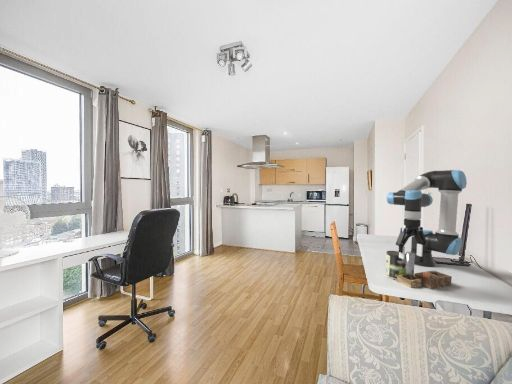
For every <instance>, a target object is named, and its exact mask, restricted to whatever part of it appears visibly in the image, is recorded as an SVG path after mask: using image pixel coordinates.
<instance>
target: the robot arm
mask: <svg viewBox="0 0 512 384" xmlns="http://www.w3.org/2000/svg"><path fill="white" fill-rule="evenodd" d="M431 188H432V189H437V191H438V192H439V193H440V204H439V215H438V216H439V218H438V228H437V230H436V231H435V232H433V230H428V229H424V228H423V227H422V226H421V222H422V220H421V218H422V208H426V207H430V206H431V205H432V203H433V200H434V199H433V197H432V196H431V195H430V194H428V193H422V191H423V190H427V189H431ZM466 188H467V176H466V174H465V172H464V171H462V170H460V169H459V170H458V169H450V170H445V169H444V170H430V171H428V172H425V173H422V174H421V175H420V174H419V175H418V176H416V177H415V178H414V180H413V181H411V182H410V183H408V184H407V185H406V186H404V187H402V188H401V189H399V190H397V191H396V192H395V191H394V192H392V191H391V192H388V193H387V195H386V203H387V204H390V205H394V206H396V205H397V206H404V208H403V209H404V214H403V217H404V218H403V225H404V226H405V227H401V228H400V231H399V234H398V237H397V239H396V242H395V245H396V246H397V247H398V252H399V258H402V259H405V254H406V247H405V245H406V243H407V242H408V240H409V238H411V246H410V248H411V249H410V252H412V253H415V260H414V265H417V266H421V267H434V266H435V261H434V257H433V254H432V251H433V252H437V253H441V254H445V255H451V256H457V255H458V254H459V253H460V251H461V249H462V246H463V239H462V238H461V237H460V236H459V233H458V232H457V231H456V229H457V218H458V217H457V215H458V204H459V194H460V193H462V191H463V190H464V189H466Z"/></svg>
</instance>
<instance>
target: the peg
mask: <svg viewBox="0 0 512 384" xmlns="http://www.w3.org/2000/svg"><path fill="white" fill-rule="evenodd" d="M405 254H406V262H405V278H407V279H409V280H414V273H415V264H414V260H415V253H412V252H411V251H405Z"/></svg>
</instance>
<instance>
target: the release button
mask: <svg viewBox="0 0 512 384" xmlns="http://www.w3.org/2000/svg"><path fill="white" fill-rule="evenodd" d="M422 272H423V276H424V277H427V278H430V273H427V271H422Z"/></svg>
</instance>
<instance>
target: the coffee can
mask: <svg viewBox="0 0 512 384" xmlns="http://www.w3.org/2000/svg"><path fill="white" fill-rule="evenodd" d="M385 260H386V265H385V276H386V277H387V278H389V279H393V280H395V281H397V275H402V274H405V262H406V253H405V259H402V258H399V250H398V251H396V250H387V251H386V259H385Z"/></svg>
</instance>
